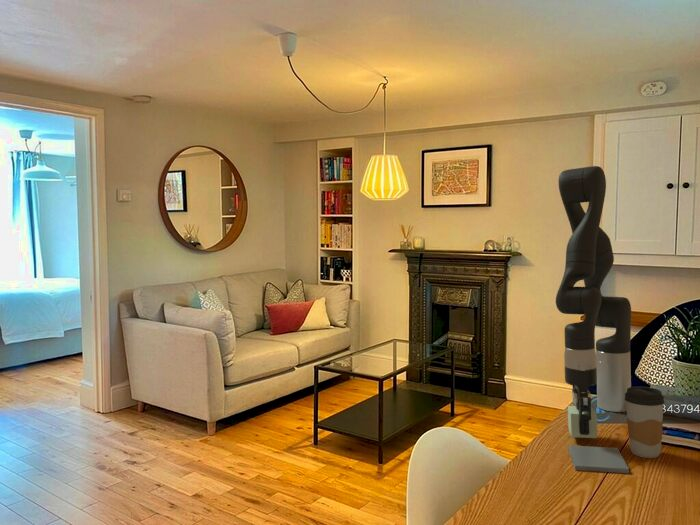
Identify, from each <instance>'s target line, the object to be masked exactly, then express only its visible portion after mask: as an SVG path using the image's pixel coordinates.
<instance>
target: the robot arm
mask: <svg viewBox="0 0 700 525" xmlns="http://www.w3.org/2000/svg"><path fill="white" fill-rule="evenodd" d="M558 189H559V195H560V198H561V201H562V205H563V207H564V211H565V213H566V216H567V218H568V221H569V225H570V230H571V233H572V234H571V235H570V237H569V239H568V242H567V244H566V250H565V268H564V273H563V276H562V280H561V282H560V284H559V287H558V290H557V293H556V295H555V296H556V297H555V306H556V308H557V310H558V311H559V312H560V313H561V314H565V315H579V316H580V315H582V316H583V315H584V319H583V320H582V321H578V322H572V323H568V324H566V325H565V327H564V354H563V355H564V356H563V358H564V362H563V364H564V381H565V383H566V384H568V385H570V386H572V388H571V394H572V404H573V406H575V407H576V410H577V411H578V415H579V416H578V418H579V432H580V434H581V435H589V420H591V407H592V395H591V391H590V390H589V387H592V386H595V385H596V406H597V408H598V409H600V410H603V411H608V412H614V413H623V412H627V409H626V400H625V393H626V392H627V389H628V388H630V387H632V380H631V379H632V375H631V372H632V371H631V370H632V369H631V367H632V366H631V329H632V327H631V324H632V305H631V302H630V300H629V299H628V298H627V297H624V296H605V295H602V292H601V287H602V285H603V283H604V282H605V279H606V277H607V275H608V274H609V272H610V271H611V269H612V267H613V264H614V261H615V257H614V252H613V247H612V243H611V239H610V237H609V235H607V233H606V232H605V230H603V229H602V227H600V224H601V220H602V216H603V209H604V208H603V207H604V204H605V203H604V202H605V197H606V193H607V192H606V191H607V190H606V189H607V180H606V175H605V172H604V170H603V168H602V167H601V166H599V165H594V166H593V165H592V166H586V167H579V168H578V167H577V168H570V169H566V170H563V171H561V172H560V174H559V176H558ZM581 203H588V206H587V209H586V212H585V210H584V208H583V206H582V204H581ZM579 281H583V283H584V286H575V285H576V284H577V282H579ZM596 327H599V328H608V329H609V328H611V329H615V331H614V334H612V335H610V336H605V337H602V338H599V339H597V340H596V338H595V335H596V334H595V333H596V331H595V330H596ZM579 406H580V407H579ZM582 412H587V415H582Z"/></svg>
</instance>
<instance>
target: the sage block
mask: <svg viewBox="0 0 700 525" xmlns="http://www.w3.org/2000/svg"><path fill="white" fill-rule="evenodd" d="M579 407H580V406H579ZM582 415H587V412H582ZM578 416H579V415H578V411H577V410H576V407H575V406H574V405H568V406H567V423H568V424H567V425H568V427H567V428H568V432H569V434H570V437H571V438H587V439H598V420H597V418H598V417H597V412H596V411H595V409H594V407H593V406H591V420H589V435H581V434H580V432H579V418H578Z"/></svg>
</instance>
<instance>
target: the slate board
mask: <svg viewBox="0 0 700 525" xmlns="http://www.w3.org/2000/svg"><path fill="white" fill-rule="evenodd" d="M568 452H569V456H570V458H571V462H572V464H573V468H574V470H575V471H583V472H584V471H586V472H601V473H604V472H605V473H615V474H616V473H617V474H618V473H620V474H630V469H629V468H630V467H629V466H628V465H627V462H626V461H625V459H624V458H623V456H622V454H621V452H620V451H619V448H618V447H607V446H605V447H603V446H588V445H586V446H585V445H584V446H583V445H568Z"/></svg>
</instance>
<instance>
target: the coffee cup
mask: <svg viewBox="0 0 700 525" xmlns="http://www.w3.org/2000/svg"><path fill="white" fill-rule="evenodd" d="M664 399H665V398H664V395H663V393H662V391H661V390H660V389H657V388H654V387H650V386H649V387H647V386H631V387H630V388H628V389H627V392H626V393H625V400H626V409H627V411H626V423H627V431H628V432H627V433H628V434H627V435H628V439H629V449H630V451H631V453H632V454H633V455H635V456H637V457H641V458H645V459H655V458H658V457H659V456H660V455H661V452H662V440H663V424H664V420H663V418H664V416H663V415H664V404H665V400H664Z"/></svg>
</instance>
